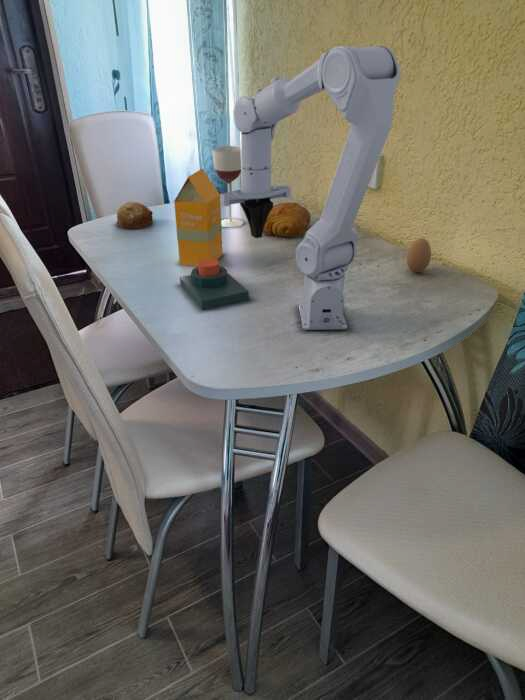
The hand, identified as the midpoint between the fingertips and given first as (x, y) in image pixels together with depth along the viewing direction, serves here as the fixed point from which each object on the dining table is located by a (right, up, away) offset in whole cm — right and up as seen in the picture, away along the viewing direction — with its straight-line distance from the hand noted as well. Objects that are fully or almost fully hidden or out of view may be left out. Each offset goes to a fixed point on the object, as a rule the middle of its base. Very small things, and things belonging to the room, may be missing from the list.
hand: (256, 236), depth 103 cm
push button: (-10, -7, +1) cm, 12 cm away
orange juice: (-13, -2, +17) cm, 22 cm away
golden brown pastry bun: (+7, +10, +37) cm, 39 cm away
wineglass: (-8, +13, +41) cm, 44 cm away
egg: (+36, -6, +11) cm, 38 cm away
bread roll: (-35, +13, +41) cm, 55 cm away
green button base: (-9, -11, +1) cm, 14 cm away
